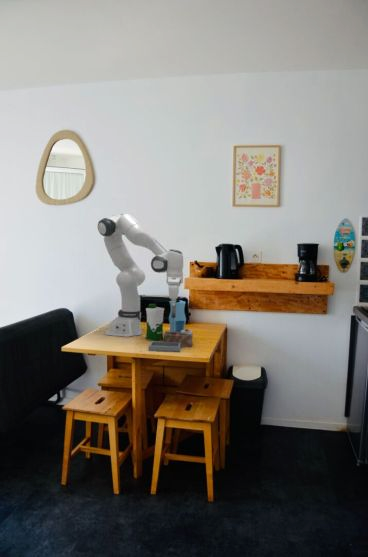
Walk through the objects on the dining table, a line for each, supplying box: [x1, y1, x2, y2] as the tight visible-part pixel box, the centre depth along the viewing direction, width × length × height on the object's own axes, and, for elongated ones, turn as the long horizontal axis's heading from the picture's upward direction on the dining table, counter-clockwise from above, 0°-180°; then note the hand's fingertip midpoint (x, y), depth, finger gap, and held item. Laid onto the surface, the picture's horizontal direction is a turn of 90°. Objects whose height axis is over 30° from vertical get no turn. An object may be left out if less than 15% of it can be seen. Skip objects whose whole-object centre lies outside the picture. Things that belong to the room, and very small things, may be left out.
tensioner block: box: [162, 328, 194, 348], centre depth 226 cm, size 16×9×9 cm, turn 87°
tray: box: [148, 340, 181, 353], centre depth 216 cm, size 16×10×2 cm, turn 87°
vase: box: [168, 300, 187, 332], centre depth 249 cm, size 8×8×20 cm
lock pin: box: [172, 295, 179, 318], centre depth 224 cm, size 4×4×12 cm
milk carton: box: [145, 303, 165, 342], centre depth 236 cm, size 9×9×20 cm
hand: (173, 304), depth 224 cm, fingers closed on lock pin, 3 cm apart
